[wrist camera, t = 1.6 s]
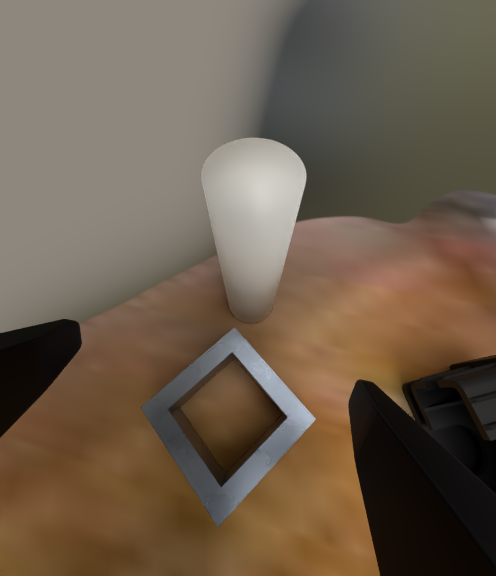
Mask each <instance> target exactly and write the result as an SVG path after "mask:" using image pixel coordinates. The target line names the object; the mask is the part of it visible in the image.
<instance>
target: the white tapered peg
mask: <svg viewBox="0 0 496 576" xmlns="http://www.w3.org/2000/svg"><path fill="white" fill-rule="evenodd" d="M201 181H202V186H203V190H204V194H205V200H206V204H207V208H208V213H209V218H210V222H211V227H212V231H213V236H214V241H215V245H216V250H217V254H218V259H219V263H220V268H221V272H222V277H223V282H224V286H225V291H226V295H227V300H228V304H229V308H230V311H231V313H232V314H233V316H234V317H235V318H237V319H238V320H240V321H242V322H244V323H258V322H261V321H263V320H264V319H266V318H267V317H268V316H269V314H270V313H271V311H272V309H273V305H274V301H275V297H276V293H277V290H278V286H279V282H280V278H281V274H282V271H283V267H284V263H285V259H286V255H287V252H288V248H289V244H290V240H291V236H292V233H293V229H294V225H295V221H296V217H297V213H298V210H299V206H300V202H301V198H302V195H303V191H304V187H305V183H306V170H305V167H304V164H303V163H302V161H301V159H300V158H299V156H298V155H297V154H296V153H295V152H294V151H292V150H291V149H290V148H288V147H287V146H285V145H283V144H281V143H278V142H276V141H273V140H269V139H263V138H243V139H238V140H235V141H231V142H228V143H226V144H224V145H222V146H220V147H219V148H217V149H216V150H215V151H214V152H212V153H211V154H210V156H209V157H208V158H207V159H206V161H205V163H204V165H203V168H202V172H201Z"/></svg>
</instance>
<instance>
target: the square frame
mask: <svg viewBox="0 0 496 576" xmlns="http://www.w3.org/2000/svg"><path fill="white" fill-rule="evenodd" d="M234 358H235V359H236V360H237V361H238V362H239V364H240V365H241V366H242V367H243V368H244V370H245V371H246V372H247V373H248V374H249V376H250V377H251V378H252V379H253V380H254V381H255V383H256V384H257V385H258V386H259V387H260V389H261V390H262V391H263V392H264V393H265V394H266V396H267V397H268V398H269V399H270V400H271V402H272V403H273V404H274V405H275V406H276V408H277V409H278V410H279V411H280V412H281V413H282V415H281V416H280V417H279V418H278V420H277V421H276V422H275V423H274V424H273V425H272V426H271V427H270V428H269V429H268V430H267V431H266V432H265V433H264V434H263V435H262V436H261V437H260V438H259V439H258V440H257V441H256V442H255V443H254V445H253V446H252V447H251V448H250V449H249V450H248V451H247V452H246V453H245V454H244V455H243V456H242V457H241V458H240V459H239V460H238V461H237V462H236V463H235V464H234V465H233V466H232V467H231V468H230V470H229V471H228V472H227V473H225V472H224V471H223V469H222V468H221V466H220V465H219V464H218V462H217V461H216V459H215V458H214V456H213V455H212V454H211V452H210V451H209V449H208V448H207V446H206V445H205V444H204V442H203V441H202V439H201V438H200V436H199V435H198V434H197V432H196V431H195V429H194V428H193V427H192V425H191V424H190V422H189V421H188V419H187V418H186V417H185V415H184V414H183V412H182V411H181V409H180V408H179V407H180V406H182V405H183V404H184V403H185V402H186V401H187V400H188V399H189V398H191V397H192V396H193V395H194V394H195V393H196V392H197V391H198V390H199V389H201V388H202V387H203V386H204V385H205V384H206V383H207V382H208V381H209V380H211V379H212V378H213V377H214V376H215V375H216V374H217V373H218V372H220V371H221V370H222V369H223V368H224V367H225V366H226V365H227V364H228V363H230V362H231V361H232V360H233V359H234ZM140 408H141V409H142V411H143V412H144V414H145V415H146V417H147V418H148V420H149V421H150V423H151V425H152V426H153V428H154V429H155V431H156V432H157V434H158V435H159V437H160V438H161V440H162V442H163V443H164V445H165V446H166V448H167V449H168V451H169V452H170V454H171V455H172V457H173V459H174V460H175V462H176V463H177V465H178V466H179V468H180V469H181V471H182V472H183V474H184V476H185V477H186V479H187V480H188V482H189V483H190V485H191V486H192V488H193V489H194V491H195V493H196V494H197V496H198V497H199V499H200V500H201V502H202V503H203V505H204V506H205V508H206V510H207V511H208V513H209V514H210V516H211V517H212V519H213V520H214V522H215V523H216V525H217V526H218V527H219V525H220V524H221V523H222V522H223V521H224V520H225V519H226V518H227V517H228V516H229V514H230V513H231V512H232V511H233V510H234V509H235V508H236V507H237V506H238V504H239V503H240V502H241V501H242V500H243V499H244V498H245V497H246V496H247V495H248V493H249V492H250V491H251V490H252V489H253V488H254V487H255V486H256V485H257V484H258V482H259V481H260V480H261V479H262V478H263V477H264V476H265V475H266V474H267V473H268V471H269V470H270V469H271V468H272V467H273V466H274V465H275V464H276V463H277V461H278V460H279V459H280V458H281V457H282V456H283V455H284V454H285V453H286V452H287V450H288V449H289V448H290V447H291V446H292V445H293V444H294V443H295V442H296V441H297V439H298V438H299V437H300V436H301V435H302V434H303V433H304V432H305V431H306V430H307V428H308V427H309V426H310V425H311V424H312V423H313V422H314V421H315V420H316V419H315V418H314V416H313V415H312V414H311V413H310V412H309V411H308V410H307V409H306V407H305V406H304V405H303V404H302V403H301V402H300V401H299V399H298V398H297V397H296V396H295V395H294V394H293V393H292V392H291V390H290V389H289V388H288V387H287V386H286V385H285V384H284V383H283V381H282V380H281V379H280V378H279V377H278V376H277V375H276V374H275V372H274V371H273V370H272V369H271V368H270V367H269V366H268V365H267V363H266V362H265V361H264V360H263V359H262V358H261V357H260V355H259V354H258V353H257V352H256V351H255V350H254V349H253V348H252V346H251V345H250V344H249V343H248V342H247V341H246V340H245V339H244V337H243V336H242V335H241V334H240V333H239V332H238V331H237V330H236V328H235V327H234V328H233V329H232V330H231V331H229V332H228V333H227V334H226V335H225V336H224V337H222V338H221V339H220V340H219V341H218V342H217V343H215V344H214V345H213V346H212V347H211V348H209V349H208V350H207V351H206V352H205V353H204V354H202V355H201V356H200V357H199V358H198V359H197V360H195V361H194V362H193V363H192V364H191V365H190V366H188V367H187V368H186V369H185V370H184V371H183V372H181V373H180V374H179V375H178V376H177V377H176V378H174V379H173V380H172V381H171V382H170V383H169V384H167V385H166V386H165V387H164V388H163V389H161V390H160V391H159V392H158V393H157V394H156V395H154V396H153V397H152V398H151V399H150V400H149V401H147V402H146V403H145V404H144V405H143V406H142V407H140Z"/></svg>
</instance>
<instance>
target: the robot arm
mask: <svg viewBox="0 0 496 576" xmlns="http://www.w3.org/2000/svg"><path fill="white" fill-rule="evenodd" d="M81 344H82V340H81V332H80V325H79V323H78V322H76V321H73V320H68V319H62V320H57V321H53V322H48V323H44V324H39V325H35V326H30V327H26V328H22V329H17V330H13V331H8V332H4V333H0V437H1V436H2V435H3V434H4V433H5V432H6V431H7V430H8V429H9V428H10V427H11V426H12V425H13V424H14V423H15V422H16V421H17V420H18V419H19V418H20V417H21V416H22V415H23V414H24V413H25V412H26V411H27V410H28V409H29V408H30V406H31V405H32V404H33V403H34V402H35V401H36V400H37V399H38V398H39V397H40V396H41V395H42V394H43V393H44V392H45V391H46V390H47V389H48V387H49V386H50V385H51V384H52V383H53V381H54V380H55V379H56V378H57V377H58V375H59V374H60V373H61V372H62V370H63V369H64V368H65V367H66V366H67V364H68V363H69V362H70V361H71V359H72V358H73V357H74V356H75V354H76V353H77V352H78V351H79V349H80V347H81ZM349 416H350V424H351V433H352V442H353V450H354V458H355V463H356V469H357V473H358V478H359V482H360V487H361V491H362V496H363V500H364V505H365V509H366V514H367V518H368V523H369V527H370V532H371V536H372V541H373V545H374V550H375V554H376V558H377V563H378V567H379V572H380V576H496V494H495V493H494V492H493V491H492V490H491V489H489V488H488V487H487V486H486V485H485V484H484V483H483V482H482V481H481V480H480V479H479V478H477V477H476V476H475V475H474V474H473V473H472V472H471V471H470V470H469V469H468V468H466V467H465V466H464V465H463V464H462V463H461V462H460V461H459V460H458V459H457V458H455V457H454V456H453V455H452V454H451V453H450V452H449V451H448V450H447V449H446V448H445V447H443V446H442V445H441V444H440V443H439V442H438V441H437V440H436V439H435V438H434V437H432V436H431V435H430V434H429V433H428V432H427V431H426V430H425V429H424V428H423V427H421V426H420V425H419V424H418V423H417V422H416V421H415V420H414V419H413V418H412V417H411V416H409V415H408V414H407V413H406V412H405V411H404V410H403V409H402V408H401V407H400V406H398V405H397V404H396V403H395V402H394V401H393V400H392V399H391V398H390V397H389V396H387V395H386V394H385V393H384V392H383V391H382V390H381V389H380V388H379V387H378V386H377V385H375V384H374V383H373V382H371V381H366V380H361V379H360V380H357V382H356V383H355V386H354V389H353V391H352V394H351V397H350V399H349Z"/></svg>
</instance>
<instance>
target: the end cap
mask: <svg viewBox="0 0 496 576" xmlns="http://www.w3.org/2000/svg"><path fill="white" fill-rule="evenodd" d="M450 370H451V371H447V372H443V373H439V374H435V375H431V376H427V377H424V378H420V379H419V380H415V381H411V382H407V383H405V384H404V385H403V388H402V389H403V393H404V395H405V398H406V400H407V402H408V404H409V407H410V409H411V411H412V414H413V416H414V418H415V420H416V422H417V423H418V424H419V425H420V426H421V427H423V428H424V429H425V430H426V431H427V432H428V433H429V434H430V435H431V436H432V437H434V438H435V439H436V440H437V441H438V442H439V443H440V444H441V445H442V446H443V447H445V448H446V449H447V450H448V451H449V452H450V453H451V454H452V455H453V456H454V457H455V458H457V459H458V460H459V461H460V462H461V463H462V464H463V465H464V466H465V467H466V468H468V469H469V470H470V471H471V472H472V473H473V474H474V475H475V476H476V477H477V478H479V479H480V480H481V481H482V482H483V483H484V484H485V485H486V486H487V487H488V488H489V489H491V490H492V491H493V492H494V493H495V494H496V355H493V356H488V357H484V358H479V359H474V360H470V361H466V362H461V363H457V364H453V365H450Z"/></svg>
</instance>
